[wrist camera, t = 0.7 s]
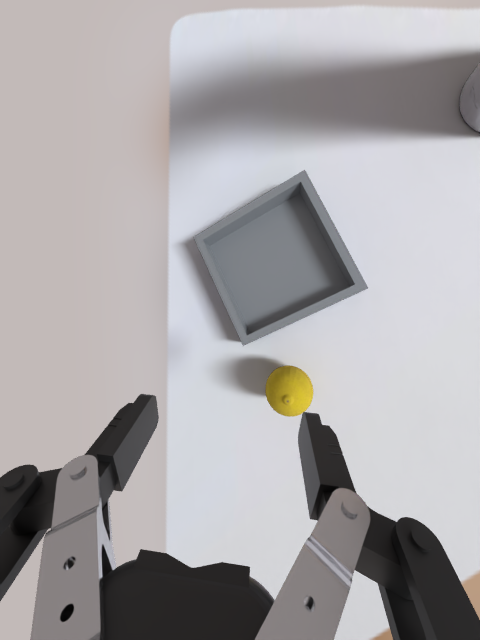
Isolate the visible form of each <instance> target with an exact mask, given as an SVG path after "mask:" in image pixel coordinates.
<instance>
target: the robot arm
mask: <svg viewBox="0 0 480 640" xmlns="http://www.w3.org/2000/svg"><path fill="white" fill-rule="evenodd" d="M459 105H460V111H461V114H462V116H463V118H464V120H465V121H466V123H467V124H468V125H469V126H470V127H472V128H473V129H475V130H476V131H478V132H480V63H479V64H478V66H477V67H476V69H475V70H474V71H473V73H472V74H471V76H470V77H469V78H468V80H467V82H466V83H465V85H464V87H463V89H462V92H461V95H460V103H459ZM157 423H158V409H157V401H156V396H153V395H145V394H141V395H139V396H138V398H137V399H136V401H135V402H134V403H128V404H127V405H126V406H124V407H123V408H122V409H120V410H119V412H118V413H117V414H116V416H115V417H114V418H113V420H112V421H111V422H110V423H109V425H108V427H106V428H105V430H104V431H103V432H102V434H101V435H100V436H99V437H98V439H97V440H96V441H95V442H94V444H93V445H92V446H91V448H90V449H89V450H88V451H87V453H86V454H85V455H83V456H79V457H77V458H75V459H73V460H71V461H70V462H68V463H67V464H66V465H65V466H64V467H63V468H60V469H55V470H50V471H45V472H38V470H37V468H36V467H35V466H34V465H23V466H19V467H17V468H14V469H13V470H11V471H9V472H7V473H6V474H4V475H3V476H2V477H1V478H0V601H1V599H2V598H3V596H4V595H5V593H6V592H7V590H8V589H9V587H10V586H11V584H12V583H13V581H14V580H15V578H16V576H17V575H18V574H19V572H20V571H21V569H22V568H23V566H24V565H25V563H26V562H27V560H28V559H29V557H30V556H31V554H32V552H33V551H34V549H35V548H36V546H37V545H38V543H39V542H40V540H41V539H42V537H43V536H44V534H45V533H46V531H47V530H48V529H49V528H51V530H50V531H48V532H47V533H46V535H45V537H44V542H43V548H42V556H41V564H40V571H39V579H38V587H37V594H36V601H35V609H34V617H33V624H32V632H31V639H30V640H334V637H335V634H336V631H337V628H338V625H339V621H340V618H341V615H342V612H343V609H344V606H345V603H346V600H347V597H348V594H349V590H350V587H351V583H352V576H353V573H354V570H356V571H358V572H359V573H361V574H363V575H364V576H366V577H368V578H370V579H371V580H373V581H375V582H377V583H378V586H379V590H380V593H381V597H382V600H383V604H384V608H385V611H386V615H387V619H388V622H389V626H390V630H391V633H392V637H393V640H480V620H479V618H478V616H477V614H476V612H475V610H474V608H473V606H472V604H471V602H470V600H469V598H468V596H467V594H466V592H465V590H464V588H463V586H462V584H461V582H460V580H459V578H458V576H457V574H456V572H455V570H454V568H453V566H452V564H451V562H450V560H449V559H448V557H447V555H446V553H445V551H444V549H443V547H442V545H441V543H440V541H439V540H438V539H437V537H436V536H435V535H434V534H433V532H432V531H431V530H430V529H428V528H427V527H426V526H425V525H424V524H422V523H421V522H419V521H417V520H415V519H413V518H408V517H403V518H400V519H399V520H398V522H395V521H393V520H391V519H389V518H387V517H385V516H383V515H381V514H378V513H377V512H375V511H373V510H372V509H370V508H369V507H368V506H367V505H366V504H365V502H364V501H363V500H362V498H361V497H360V496H359V495H357V493H356V491H355V489H354V486H353V483H352V480H351V477H350V474H349V471H348V468H347V465H346V462H345V459H344V457H343V455H342V451H341V448H340V445H339V442H338V439H337V436H336V434H335V433H334V432H333V430H332V429H331V428H330V426H326V425H322V424H321V420H320V417H319V414H316V413H307V412H303V414H302V419H301V424H300V429H299V435H298V444H299V451H300V458H301V464H302V471H303V477H304V483H305V490H306V496H307V503H308V509H309V516H310V519H313V520H318V522H317V524H316V526H315V528H314V530H313V532H312V534H311V536H310V537H309V538H308V539H307V540H306V542H305V544H304V545H303V547H302V549H301V551H300V553H299V555H298V557H297V559H296V561H295V563H294V565H293V567H292V569H291V570H290V572H289V574H288V576H287V578H286V580H285V582H284V584H283V586H282V588H281V590H280V592H279V594H278V596H277V598H276V599H275V600H274V599H273V597H272V596H271V595H270V594H269V592H268V591H267V590H266V589H265V588H264V587H263V586H262V585H261V584H260V583H259V582H257V581H256V580H255V579H253V578H251V577H250V576H249V574H250V567H248V566H242V565H236V564H229V563H223V562H222V563H217V564H212V565H207V566H202V567H197V568H191V567H189V566H187V565H185V564H184V563H182V562H180V561H178V560H177V559H175V558H173V557H172V556H170V555H168V554H167V553H160V552H154V551H148V550H142V549H141V550H140V552H139V555H138V557H137V559H136V560H132V561H129V562H126V563H124V564H122V565H121V566H119V567H117V568H116V562H115V556H114V551H113V543H112V532H111V519H110V506H109V497H110V495H111V494H112V492H113V490H116V491H123V489H124V487H125V485H126V483H127V481H128V479H129V477H130V476H131V474H132V472H133V470H134V468H135V466H136V464H137V463H138V461H139V459H140V457H141V455H142V453H143V451H144V449H145V447H146V446H147V444H148V442H149V440H150V438H151V436H152V434H153V432H154V431H155V429H156V426H157Z"/></svg>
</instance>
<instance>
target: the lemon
mask: <svg viewBox="0 0 480 640" xmlns="http://www.w3.org/2000/svg"><path fill="white" fill-rule="evenodd" d="M266 397H267V400H268V402H269V404H270V406H271V407H272V408H273V409H274V410H275V411H276V412H278V413H279V414H281V415H284V416H297V415H300V414H301V413H303V412H304V411H306V409H307V408H308V407H309V406H310V403H311V401H312V398H313V386H312V383H311V381H310V379H309V377H308V376H307V374H306V373H305V372H303V371H302V370H301V369H299V368H297V367H294V366H282V367H279V368H277V369H275V370H274V371H273V372H272V373H271V374H270V376H269V377H268V379H267V382H266Z"/></svg>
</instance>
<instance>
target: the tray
mask: <svg viewBox="0 0 480 640" xmlns="http://www.w3.org/2000/svg"><path fill="white" fill-rule="evenodd" d="M194 240H195V242H196V244H197V246H198V248H199V251H200V253H201V255H202V257H203V259H204V261H205V264H206V266H207V268H208V270H209V272H210V275H211V277H212V279H213V281H214V283H215V285H216V288H217V290H218V292H219V294H220V296H221V299H222V301H223V303H224V305H225V307H226V310H227V312H228V314H229V316H230V318H231V320H232V323H233V325H234V327H235V329H236V331H237V334H238V336H239V338H240V340H241V342H242V345H243V346H244V345H246V344H248V343H250V342H252V341H255V340H257V339H259V338H261V337H263V336H265V335H268V334H270V333H272V332H274V331H276V330H279V329H281V328H283V327H285V326H287V325H289V324H292V323H294V322H296V321H298V320H300V319H302V318H305V317H307V316H309V315H311V314H313V313H315V312H318V311H320V310H322V309H324V308H326V307H328V306H331V305H333V304H335V303H337V302H339V301H341V300H344V299H346V298H348V297H350V296H352V295H355V294H357V293H359V292H361V291H363V290H365V289H368V287H367V285H366V283H365V281H364V279H363V278H362V276H361V274H360V272H359V270H358V268H357V266H356V264H355V263H354V261H353V259H352V257H351V255H350V253H349V251H348V250H347V248H346V246H345V244H344V242H343V240H342V238H341V236H340V235H339V233H338V231H337V229H336V227H335V225H334V223H333V222H332V220H331V218H330V216H329V214H328V212H327V210H326V208H325V207H324V205H323V203H322V201H321V199H320V197H319V195H318V194H317V192H316V190H315V188H314V186H313V184H312V182H311V180H310V179H309V177H308V175H307V173H306V171H305V170H304V171H302V172H300V173H299V174H297V175H295V176H294V177H292V178H290V179H289V180H287V181H285V182H284V183H282V184H281V185H279V186H277V187H276V188H274V189H272V190H271V191H269V192H267V193H266V194H264V195H262V196H261V197H259V198H257V199H256V200H254V201H252V202H251V203H249V204H248V205H246V206H244V207H243V208H241V209H239V210H238V211H236V212H234V213H233V214H231V215H229V216H228V217H226V218H224V219H223V220H221V221H219V222H218V223H216V224H214V225H213V226H211V227H210V228H208V229H206V230H205V231H203V232H201V233H200V234H198V235H196V236H195V237H194Z"/></svg>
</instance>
